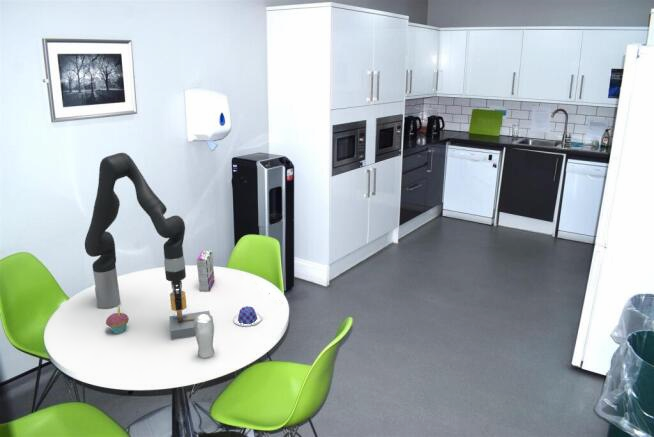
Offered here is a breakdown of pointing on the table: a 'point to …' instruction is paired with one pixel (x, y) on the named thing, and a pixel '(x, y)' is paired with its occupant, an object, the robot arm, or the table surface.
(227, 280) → the table surface
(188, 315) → the box
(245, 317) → the pudding
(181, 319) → the wooden post
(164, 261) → the robot arm
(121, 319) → the cupcake
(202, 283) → the candy bar box
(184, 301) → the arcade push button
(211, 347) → the beer glass
